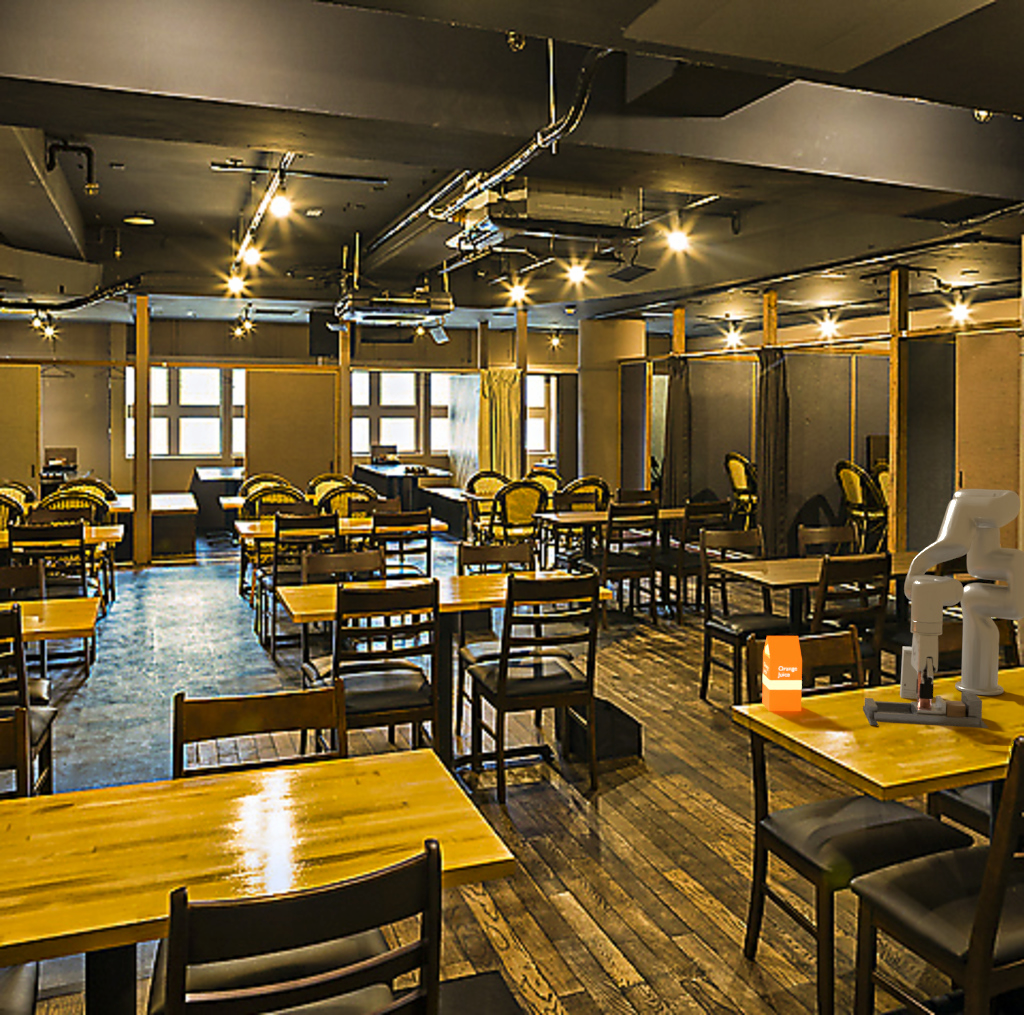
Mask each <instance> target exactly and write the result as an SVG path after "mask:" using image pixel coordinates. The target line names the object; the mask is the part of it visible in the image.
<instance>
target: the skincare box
mask: <svg viewBox="0 0 1024 1015" xmlns="http://www.w3.org/2000/svg"><path fill="white" fill-rule="evenodd" d="M901 651H902V654H901V673H900V686H899V687H900V690H899V691H900V692H899V696H900V698H901V699H913V700H914V699H915V700H917V697H918V694H917V693H916V684H917V671H916V670H915V669H914V667H913V666H912V665H911V655H912V646H902V650H901Z"/></svg>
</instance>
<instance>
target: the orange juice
mask: <svg viewBox="0 0 1024 1015" xmlns="http://www.w3.org/2000/svg"><path fill="white" fill-rule="evenodd" d="M799 639H800V638H799V635H766V639H765V643H764V648H763V651H762V700H761V701H762V702H761V703H762V704H763V706H764V707H765V709H767V710H768V712H802V688H803V686H802V684H803V681H802V680H803V678H802V676H803V675H802V674H803V673H802V672H803V657H802V651H801V646H800V640H799Z"/></svg>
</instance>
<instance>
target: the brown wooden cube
mask: <svg viewBox="0 0 1024 1015" xmlns="http://www.w3.org/2000/svg"><path fill="white" fill-rule="evenodd" d="M943 700H944V699H943ZM944 701H945V702H946V716H957V717H965V710H966V706H965V705H964V704H963V703H962V701H961V700H960V701H959V700H948V699H947V700H944Z"/></svg>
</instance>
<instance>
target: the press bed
mask: <svg viewBox="0 0 1024 1015" xmlns="http://www.w3.org/2000/svg"><path fill="white" fill-rule="evenodd" d="M960 695H961V698H960V699H961V700H960V701H962V703H963V704H964V705H965V706H966V710H965V717H957V716H939V715H922V714H913V713H912V711H911V702H898V701H895V702H894V701H883V700H882V701H880V700H879V701H878V700H875V699H874V698H871V697H864V705H863V706H862V711H863V713H864V715H865V717H866V719H867V721H868V723H869V725H870V726H871V725H874V726H875V727H879V726H880V724H878V722H879V723H880V722H881V723H896V724H897V723H898V724H910V725H912V724H913V725H927V726H928V725H929V726H930V725H931V726H943V727H944V726H947V727H960V728H961V727H962V728H979V729H989V727H988V725H987V724H986V723H985V722H984V721H983V719H982V717H983V716H982V715H983V714H982V713H983V710H982V709H983V701H982V700H981V698H979V695H977V694H975V693H970V692H963V691H961V694H960ZM876 725H878V726H876ZM874 726H873V727H874Z"/></svg>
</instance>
